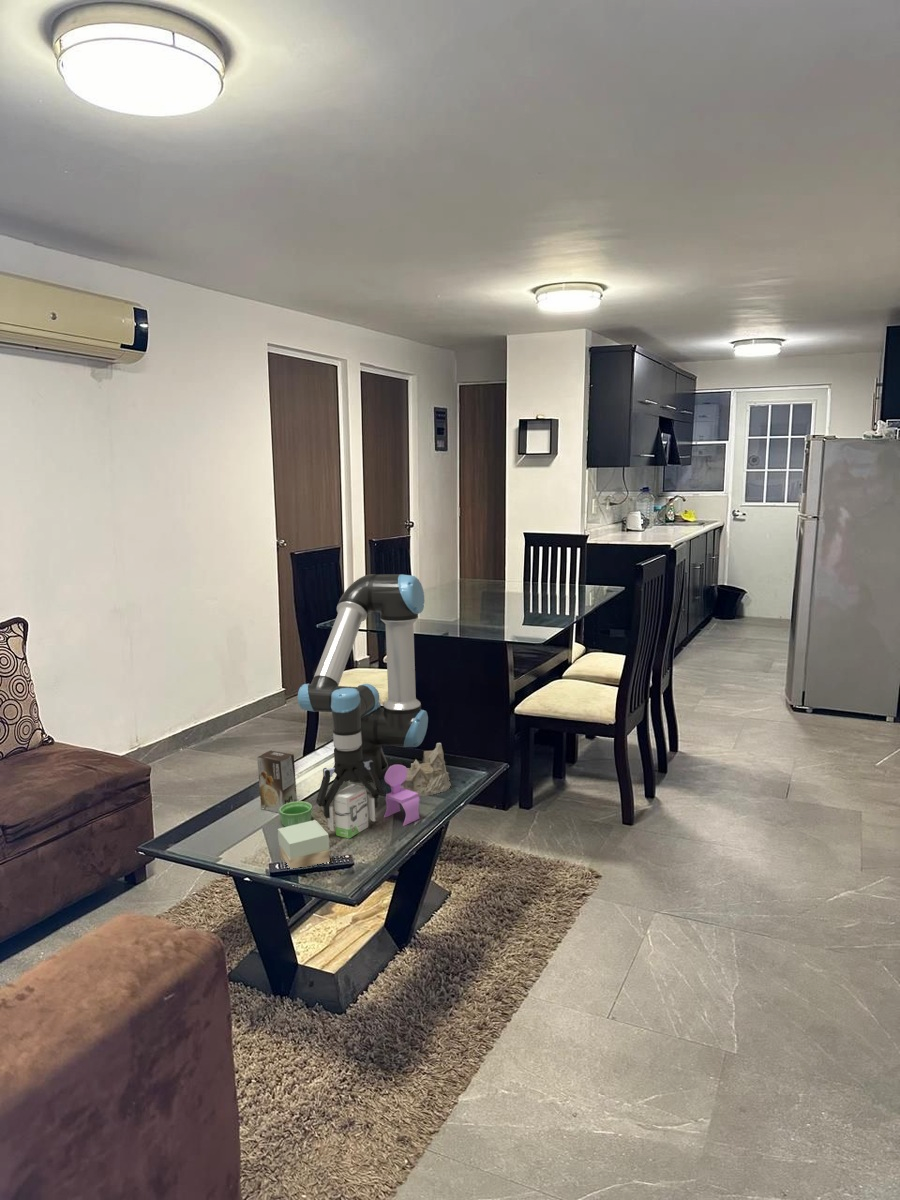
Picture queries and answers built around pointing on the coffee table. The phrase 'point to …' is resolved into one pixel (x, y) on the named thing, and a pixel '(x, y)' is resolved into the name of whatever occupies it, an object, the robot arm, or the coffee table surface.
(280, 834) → the top slab
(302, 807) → the ramekin
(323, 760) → the coffee table surface
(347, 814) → the ink box
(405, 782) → the ceramic cottage
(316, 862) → the bottom slab
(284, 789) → the coffee box
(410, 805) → the toy chair
